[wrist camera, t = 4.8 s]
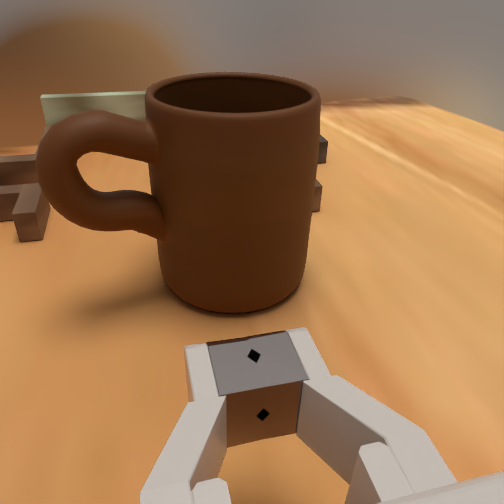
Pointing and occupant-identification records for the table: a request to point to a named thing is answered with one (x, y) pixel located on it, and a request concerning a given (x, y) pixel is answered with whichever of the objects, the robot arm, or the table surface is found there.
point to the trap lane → (23, 166)
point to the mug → (204, 182)
